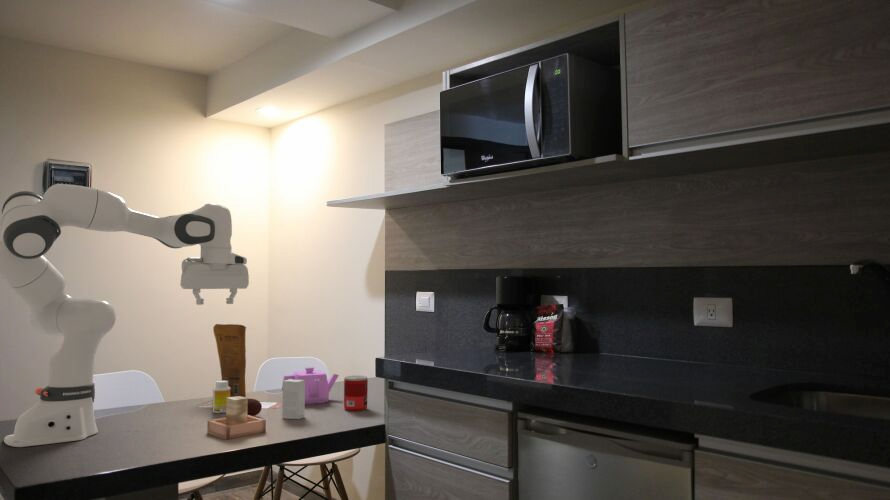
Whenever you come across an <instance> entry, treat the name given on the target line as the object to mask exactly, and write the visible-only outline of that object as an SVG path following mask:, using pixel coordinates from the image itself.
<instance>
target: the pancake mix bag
mask: <svg viewBox="0 0 890 500" xmlns="http://www.w3.org/2000/svg"><path fill="white" fill-rule="evenodd" d="M212 328H213V334H214V339H215V343H216V347H217V348H216V349H217V355H218V359H219V367H220V375H221V381H228V386H229V387H230V397H235V396H241V397H245V398H247V395H246V393H247V392H246V369H247V368H246V367H247V366H246V364H247V360H246V359H247V357H246V351H247V349H246V330H247V327H246V326H245V325H243V324H236V323H235V324H233V323H232V324H231V323H230V324H221V323H216V324H215V325H213V327H212Z"/></svg>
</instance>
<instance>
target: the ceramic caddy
mask: <svg viewBox="0 0 890 500" xmlns="http://www.w3.org/2000/svg"><path fill="white" fill-rule="evenodd" d="M266 428H267V420H266V419H264V418H260V417H256V416H250V415H247V422H246V423H240V424H234V425H226V417H221V418H217V419H216V418H215V419H210V420H207V431H206V432H207V434H209V435H212V436H215V437H217V438H221V439H224V440H232V439H237V438H243V437H248V436H253V435H258V434H264V433H267V429H266Z"/></svg>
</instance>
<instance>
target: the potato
mask: <svg viewBox="0 0 890 500" xmlns="http://www.w3.org/2000/svg"><path fill="white" fill-rule="evenodd" d="M262 409H263V407H262V403H261V401H260V400H257V399H256V398H248V407H247V415H250V416H254V417H256V416H257V415H259V414H260V413H261V411H262Z"/></svg>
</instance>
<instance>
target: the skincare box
mask: <svg viewBox="0 0 890 500" xmlns="http://www.w3.org/2000/svg"><path fill="white" fill-rule="evenodd" d="M282 384H283V391H282V413H281V415H282V417H281V418H282V419H285V420H286V419H289V420H290V419H291V420H300V419H302V418H305V416H306V415H305V414H306V413H305V412H306V411H305V409H306V406H305V405H306V404H305V380H292V379H288V380H285V381H283V380H282Z"/></svg>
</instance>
